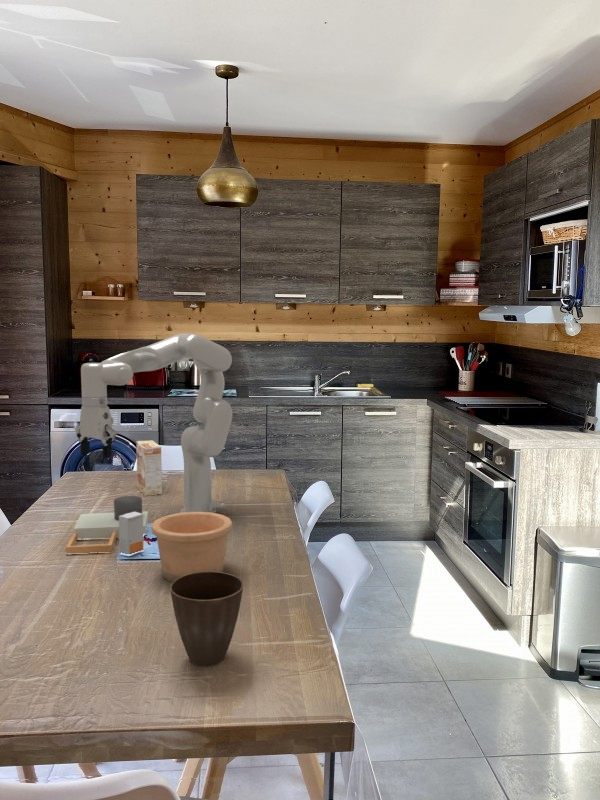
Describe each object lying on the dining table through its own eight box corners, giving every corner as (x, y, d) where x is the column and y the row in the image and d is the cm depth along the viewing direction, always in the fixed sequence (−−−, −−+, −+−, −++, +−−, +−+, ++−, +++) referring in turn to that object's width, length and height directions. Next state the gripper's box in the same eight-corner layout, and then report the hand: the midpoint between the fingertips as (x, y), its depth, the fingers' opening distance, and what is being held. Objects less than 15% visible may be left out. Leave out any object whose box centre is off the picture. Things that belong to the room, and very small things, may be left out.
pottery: (155, 592, 177) (154, 538, 175) (150, 562, 198) (149, 514, 196) (238, 584, 183) (238, 532, 181) (225, 555, 204) (224, 508, 202)
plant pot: (245, 640, 152) (244, 570, 150) (241, 675, 137) (241, 599, 135) (177, 641, 151) (175, 571, 149) (166, 676, 136) (164, 600, 134)
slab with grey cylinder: (148, 522, 235) (147, 494, 234) (142, 551, 207) (141, 519, 206) (81, 525, 232) (80, 496, 231) (66, 555, 203) (65, 522, 202)
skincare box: (128, 557, 202) (127, 518, 200) (119, 554, 204) (118, 515, 203) (144, 552, 206) (143, 513, 205) (135, 549, 209) (134, 511, 208)
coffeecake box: (136, 487, 281) (135, 441, 279) (154, 486, 284) (153, 439, 282) (144, 496, 268) (143, 447, 265) (162, 494, 271) (161, 446, 268)
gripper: (123, 403, 214) (124, 456, 216) (84, 399, 223) (86, 451, 225) (105, 405, 208) (106, 461, 210) (65, 401, 216) (67, 454, 218)
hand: (96, 455), depth 217 cm, fingers open, 9 cm apart
